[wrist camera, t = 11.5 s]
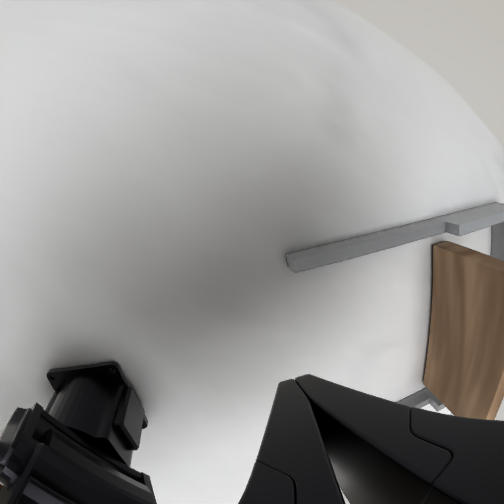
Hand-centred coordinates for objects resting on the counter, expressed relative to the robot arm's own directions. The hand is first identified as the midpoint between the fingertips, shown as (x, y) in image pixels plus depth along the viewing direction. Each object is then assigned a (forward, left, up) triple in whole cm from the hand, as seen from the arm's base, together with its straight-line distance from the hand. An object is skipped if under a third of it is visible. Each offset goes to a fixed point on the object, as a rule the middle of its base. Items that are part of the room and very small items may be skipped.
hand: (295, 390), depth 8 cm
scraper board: (+15, -9, -12) cm, 21 cm away
